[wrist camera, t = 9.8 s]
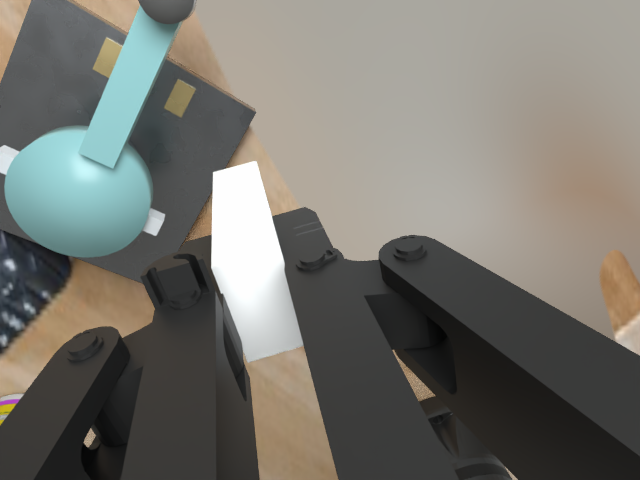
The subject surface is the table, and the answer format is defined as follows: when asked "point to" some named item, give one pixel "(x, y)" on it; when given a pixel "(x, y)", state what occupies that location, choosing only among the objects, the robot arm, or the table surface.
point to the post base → (149, 132)
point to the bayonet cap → (97, 154)
